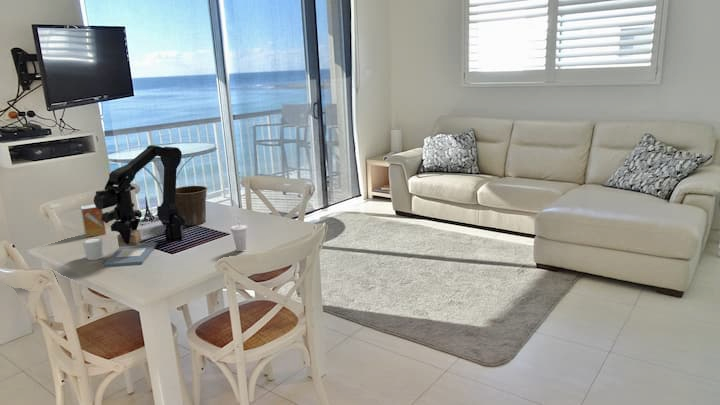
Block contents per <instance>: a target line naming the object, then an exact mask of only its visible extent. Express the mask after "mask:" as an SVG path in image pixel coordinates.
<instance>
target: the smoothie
mask: <svg viewBox="0 0 720 405" xmlns="http://www.w3.org/2000/svg"><path fill="white" fill-rule="evenodd" d="M240 217H241V216H240V215H238V217H237V218H238V224H236V225H233V226H231V227H230V231H231V232H232V236H233V240H234V242H233V243H234V245H235V250H236V252H238V251H243V250H245V251H247V237H248V236H247V232H248V231H247V230H248V226H247V225H245V224H241V219H240ZM243 252H244V251H243Z"/></svg>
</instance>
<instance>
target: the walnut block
mask: <svg viewBox="0 0 720 405" xmlns="http://www.w3.org/2000/svg"><path fill="white" fill-rule="evenodd" d="M141 236H142V235H141V230H140V229H137V230H132V231H131V236H130V241H129V244H125V242H124V240H123V238H122V236H121V234H120V233H119V234H117V236H116V238H117V242H118V244H117V246H118V248H119V247H125V246H137V245H138V243H141V241H142V237H141Z"/></svg>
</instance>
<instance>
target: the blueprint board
mask: <svg viewBox="0 0 720 405" xmlns="http://www.w3.org/2000/svg"><path fill="white" fill-rule="evenodd" d="M156 245H158V241H154V242H152V241H150V242H139V243H138V245H137V246H125V247H119V246H118V248H117V249H116V250H115V251H114V252H113V253H112V255H111V256H109V257H108V259H107V260H106V261H105V262H104V263H103V264H102V265H103V267H115V266H116V267H119V266H131V265H133V266H134V265H143V264H144V263H145V262H146V260H147V259H148V258H149V256H150V255H151V254H152V252H153V251H154V249H156V247H157V246H156Z"/></svg>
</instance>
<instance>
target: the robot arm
mask: <svg viewBox="0 0 720 405" xmlns="http://www.w3.org/2000/svg"><path fill="white" fill-rule="evenodd" d="M182 156H183V155H182V150H181V149H180V148H179V147H175V146H159V145H155V144H154V145H153V144H151V145H148V146H147V147H146V148H145V149H144V150H143V151H142V152H140V153H139V154H138V155H137V156H136V157H134V158H133V159H131V161H130V162H128V163H127V164H125V165H123V166H120V167H117V168H115V169H114V170H112V171H111V172H110V173H109V175H108V180H107V182H106V184H105V186H104V189H102V190H96V191H95V195H94V197H93V204H95V206H96V207H97V208H98V209H100V210H101V209H102V210H104V209H108V208H111V207H113V209H112V210H111V211H105V213H104V212H103V214H102V216H101V218H102V219H101V220H102V221H104V224H108V223H109V222H112V221H114V220H115V221H114V222H113V223H112V224H111V225H110V230H111V232H117V233H119V234H121V236H122V238H123V240H124V242H125V244H129V241H130V236H131V231H132V230H138V228H139V225H140V221H141V218H142V217H143V214H142V211H141V210H140V209H136V210H135V209H134V207H135V203H133V198H132V192H131V191H133V190H135V189H136V187H135V186H133V185H132V184H131V183H132V182H133V181H134V179H135V178H136V175H137V174H138V172H139V171H141V170H142V169H144V167H146V166H147V165H148V164H149V163H150V162H152V161H153V160H154V159H155V158H156V157H160V158H159V159H160V162H161V164H162V166H163V167H162V168H163V189H162V190H163V191H162V203H161V205H157V206H156V207H157V208H156V209H157V212H156V215H157V216H158V217H157V216H156V217H157V218H158V219H159V222H161V225H162V226H165V229H164V235H165V242H171V241H172V242H174V241H175V242H176V241H182V240H183V239H184V237H185V234H184V229H183V226H184V225H185V219H183V218H182V217H181V216H179V209H178V207H177V205H176V203H175V197H176V188H177V170H178V167H179V166H180V164H181V162H182ZM185 226H186V225H185Z"/></svg>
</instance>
